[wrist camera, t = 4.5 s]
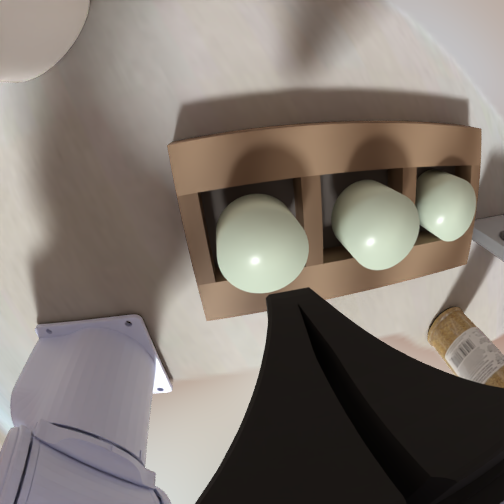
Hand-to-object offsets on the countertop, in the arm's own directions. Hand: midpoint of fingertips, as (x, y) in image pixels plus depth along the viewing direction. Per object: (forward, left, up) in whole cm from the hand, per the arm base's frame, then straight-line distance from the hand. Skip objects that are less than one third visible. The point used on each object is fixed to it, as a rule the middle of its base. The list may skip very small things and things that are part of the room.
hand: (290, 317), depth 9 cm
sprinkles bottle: (+17, -13, -9) cm, 23 cm away
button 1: (+12, 0, -8) cm, 14 cm away
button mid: (+6, 0, -7) cm, 9 cm away
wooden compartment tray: (+6, 0, -9) cm, 11 cm away
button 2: (0, 0, -7) cm, 7 cm away
